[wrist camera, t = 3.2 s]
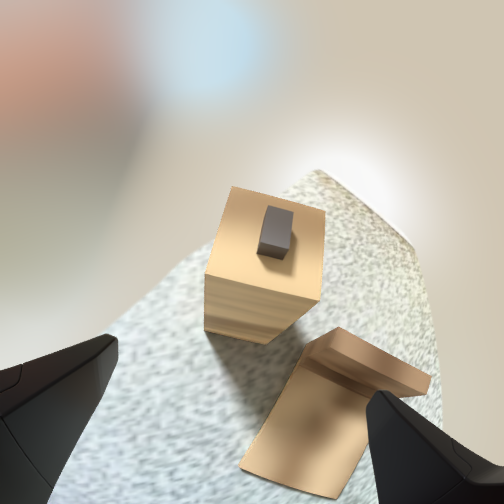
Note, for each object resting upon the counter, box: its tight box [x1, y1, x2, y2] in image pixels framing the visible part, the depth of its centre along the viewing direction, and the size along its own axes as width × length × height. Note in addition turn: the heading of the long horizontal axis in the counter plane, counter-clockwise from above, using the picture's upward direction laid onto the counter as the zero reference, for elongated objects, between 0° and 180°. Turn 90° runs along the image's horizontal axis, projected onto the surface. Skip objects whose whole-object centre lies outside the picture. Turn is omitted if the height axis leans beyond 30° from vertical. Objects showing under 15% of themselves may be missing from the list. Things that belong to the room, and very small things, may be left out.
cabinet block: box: [204, 186, 325, 345], centre depth 17 cm, size 5×5×12 cm
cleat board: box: [238, 327, 432, 499], centre depth 16 cm, size 9×12×6 cm
